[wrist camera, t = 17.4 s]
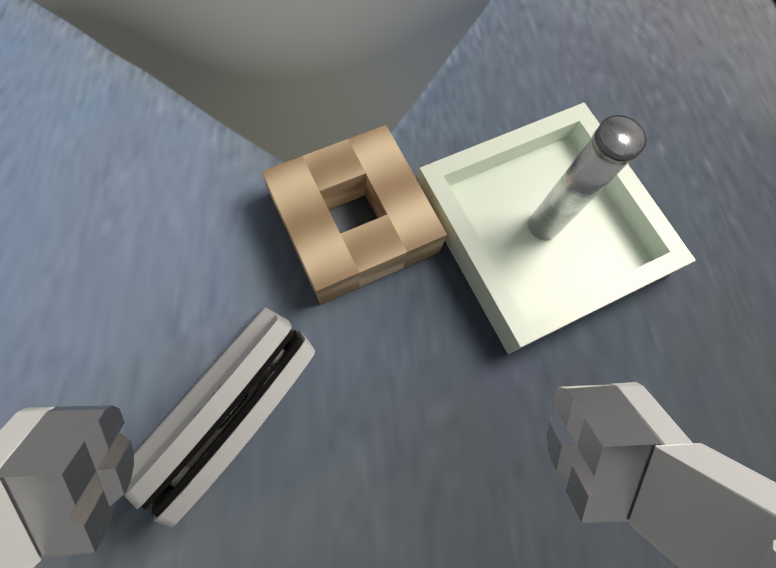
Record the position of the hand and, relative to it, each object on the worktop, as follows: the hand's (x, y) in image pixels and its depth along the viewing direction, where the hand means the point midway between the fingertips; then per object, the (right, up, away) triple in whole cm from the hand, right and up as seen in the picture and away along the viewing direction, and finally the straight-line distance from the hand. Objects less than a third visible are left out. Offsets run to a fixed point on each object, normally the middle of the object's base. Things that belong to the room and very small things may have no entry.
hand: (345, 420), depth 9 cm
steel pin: (+15, +8, +36) cm, 40 cm away
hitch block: (-2, +8, +36) cm, 37 cm away
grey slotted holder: (-12, -8, +30) cm, 33 cm away
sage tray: (+15, +8, +36) cm, 40 cm away
